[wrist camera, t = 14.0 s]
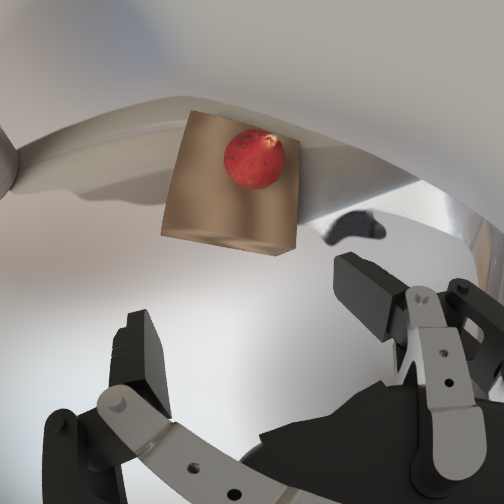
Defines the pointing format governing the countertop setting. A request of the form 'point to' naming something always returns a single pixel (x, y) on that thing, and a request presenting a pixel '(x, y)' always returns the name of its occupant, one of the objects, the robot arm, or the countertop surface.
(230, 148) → the onion
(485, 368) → the robot arm
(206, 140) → the walnut base
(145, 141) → the countertop surface
